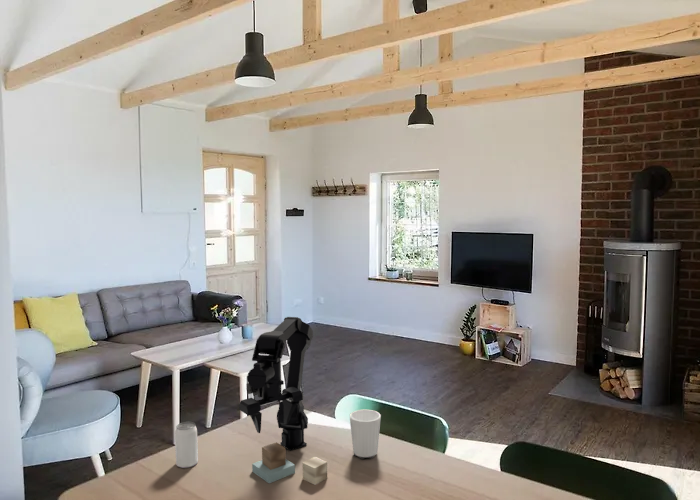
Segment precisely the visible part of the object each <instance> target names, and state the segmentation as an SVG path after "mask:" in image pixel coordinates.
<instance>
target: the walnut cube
mask: <svg viewBox="0 0 700 500" xmlns="http://www.w3.org/2000/svg"><path fill="white" fill-rule="evenodd" d="M286 453H287V452H286V448H285V447H284V446H282V445H281V444H280V443H278V442H274V443H271V444H267V445H263V446H262V447H261V460H262V464H264V465H265V466H266V467H268V468H269V469H270V470H272V469H275V468H278V467H280V466H283V465H286V460H287V457H286V455H287V454H286Z"/></svg>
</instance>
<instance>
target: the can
mask: <svg viewBox="0 0 700 500" xmlns="http://www.w3.org/2000/svg"><path fill="white" fill-rule="evenodd" d="M174 443H175V444H174V447H175V464H176V467H178V468H181V469H189V468H193V467H194V466H196V464H197V463H199V453H198V452H199V450H198V443H199V442H198V429H197V426H196V423H195V422H194V421H193V422H192V421H183V422H181V423H179V424H177V425H176V426H175V431H174Z"/></svg>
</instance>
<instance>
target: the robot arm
mask: <svg viewBox="0 0 700 500" xmlns="http://www.w3.org/2000/svg"><path fill="white" fill-rule="evenodd" d="M313 337H314V332H313V329H312V327H311V326H310V325H309V324H308V323H307V322H305V321H303V320H302V319H301V318H300V317H297V316H296V317H295V316H286V317H284V319H283V320H282V322H281V323H280V324H279V325H278V326H276V327H275V328H274V329H273V330H272V331H267V332H264V333H261V334H260V335H259V336H258V338H257V339H256V342H255V346H254V350H253V354H252V358H251V361H252V362H254V363H253V368H251V369H250V370H249V371H248V373H247V375H246V379H247V383H246V392H247V394H248V395H251V394H252V395H253V397H248V398H246V399H241V400H240V402H239V403H238V408H239V409H238V410H239V411H240V412H242V413H244V414H245V415H247V416H250V418H251V420H252V422H253V425H254V427H255V430H256V432H257V433H258V434H261V432H262V431H261V430H262V417H263V416H262V412H261V410H262V407H264V406H269V405H271V404H274V403H279V404H278V410H277V412H276V420H277V425H278V429H282V431H281V442H279V444H280V445H281V446H283V447H284V448H285V449H287V450H289V451H293V450H296V449H300V448H302V447H305V446H307V445H308V443H307V442H305V430H306V429H308V423H309V422H308V421H309V418H308V416H307V415H306V413H305V405H304V403H303V400H304V393H303V391H302V380H303V375H304V374H303V371H304V361H305V354H306V352H307V351H308V349H309V348H310V347H311V343H312V340H313ZM286 344H287V347H288V349H289V351H290V356H289V363H288V372H287V380H286V381H287V382H286V387H285V388H283V389H282V385H284V384H285V383H284V380H283V379H282V372H281V371H282V365H281V364H282V362H281V361H282V360H281V359H282V358H283V356H284V352H285V348H286ZM255 396H257V397H258V398H261V399H258V400H256V399H255V398H254V397H255Z"/></svg>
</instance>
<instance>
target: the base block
mask: <svg viewBox="0 0 700 500" xmlns="http://www.w3.org/2000/svg"><path fill="white" fill-rule="evenodd" d="M251 465H252V466H251V467H252V468H251V469H252V470H251V471H252V473H253V474H255V475H257V476H258V477H259V478H260V479H262V480H264V481H265V482H266V483H268V484H272V483H274V482H277V481H278V480H281V479H283V478H286V477H289V476H292V475H294V474H295V473H296V464H294V463H293V462H291V461H289V460H288V459H286V465H283V466H280V467H278V468H275V469H272V470H270V469H269V468H268V467H266V466H265V465H264V464H262V459H261V460H259V461H256V462H253V463H251Z"/></svg>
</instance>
